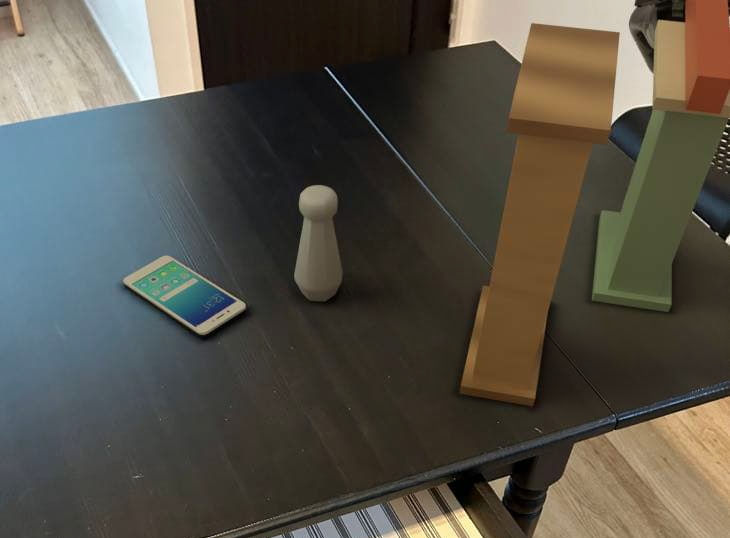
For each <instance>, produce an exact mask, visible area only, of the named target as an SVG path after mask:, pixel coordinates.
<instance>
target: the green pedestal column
mask: <svg viewBox="0 0 730 538" xmlns="http://www.w3.org/2000/svg"><path fill="white" fill-rule="evenodd" d="M652 74H653V76H652V77H653V79H652V106H651V108H652V111H651V115H650V118H649V120H648V123H647V128H646V129H645V130H646V131H645V133H644V136H643V140H642V143H641V146H640V149H639V152H638V156H637V159H636V162H635V164H634V165H635V166H634V168H633V172H632V174H631V178H630V181H629V184H628V187H627V191H626V193H625V197H624V199H623V203H622V206H621V210H620V211H619V212H618V211H612V210H606V209H605V210H604V209H602V210H600V211H601V212H600V215H599V219H598V220H599V221H598V230H597V241H596V251H595V252H596V253H595V262H594V271H593V272H594V273H593V281H592V292H591V293H592V294H591V301H592V302H598V303H604V304H611V305H619V306H624V307H625V306H626V307H631V308H637V309H644V310H650V311H656V312H664V313H669V312H670V309H671V307H672V304H673V303H672V302H673V301H672V296H673V295H672V292H673V291H672V290H673V289H672V285H673V282H672V281H673V280H672V278H673V277H672V275H673V274H672V271H673V270H672V269H673V268H672V267H673V266H672V265H673V262H674V259H675V256H676V254H677V252H678V249H679V247H680V244H681V241H682V239H683V236H684V234H685V232H686V229H687V226H688V224H689V221H690V218H691V216H692V213H693V211H694V208H695V206H696V203H697V201H698V197H699V196H700V194H701V190H702V188H703V185H704V183H705V181H706V178H707V176H708V172H709V170H710V168H711V165H712V164H713V163H712V162H713V160H714V158H715V155H716V153H717V150H718V147H719V145H720V142H721V140H722V137H723V135H724V132H725V129H726V127H727V125H728V122H729V120H730V90H729V93H728V95H727V98H726V100H725V103H724V106H723V108H722V111H721V113H720V114H717V113H708V112H700V111H692V110H686V47H685V23H684V22H674V21H664V20H658V22H657V26H656V29H655V43H654V73H652Z"/></svg>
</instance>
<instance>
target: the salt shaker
mask: <svg viewBox="0 0 730 538" xmlns="http://www.w3.org/2000/svg"><path fill="white" fill-rule="evenodd" d="M338 204H339V200H338V195H337V193H336V192H335V190H334V189H333V188H331V187H329V186H327V185H323V184H314V185H311V186H308V187H306V188H305V189H304V190H303V191H302V192H300V194H299V201H298V207H299V208H298V209H299V212H300V213H301V215H302V216H303V223H302V229H301V234H300V240H299V246H298V250H297V251H298V252H297V256H296V263H295V268H294V276H293V277H294V282H295V283H296V285H297V287H298V288H299V290H300V292H301V294H302V295H303V296H304V297H306V298H307V299H308V300H309V301H311V302H326V301H328V300H329V299H331V298H333V297H334V296H335V295H336V294H337V292H338V290H339V288H340V285H341V284H342V281H343V267H342V261H341V257H340V250H339V246H338V240H337V236H336V230H335V226H334V220H333V217H334V216H335V215H336V214H337V212H338Z"/></svg>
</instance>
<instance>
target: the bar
mask: <svg viewBox="0 0 730 538" xmlns="http://www.w3.org/2000/svg"><path fill="white" fill-rule="evenodd" d="M685 47H686V110H692V111H700V112H708V113H717V114H720V113H721V111H722V108H723V106H724V103H725V100H726V98H727V95H728V93H729V90H730V16H729V11H728V0H685Z"/></svg>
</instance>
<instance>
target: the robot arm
mask: <svg viewBox="0 0 730 538" xmlns="http://www.w3.org/2000/svg"><path fill="white" fill-rule="evenodd" d="M633 6H634V7H635V8H634V10H633V11H632V13H631V14H630V17H629V19H628V28H629V32H630V35H631V37H632V39H633V41H634V42H635V44H636V47H637V49H638V50H639V52H640V54H641V56H642V58H643V60H644V62H645V64H646V66H647V68H648V70H649V71H650V72H651V74H653V73H654V43H655V29H656V26H657V22H658V20H664V21H674V22H684V23H685V0H635V1H634V5H633ZM728 11H729V17H730V0H728Z"/></svg>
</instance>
